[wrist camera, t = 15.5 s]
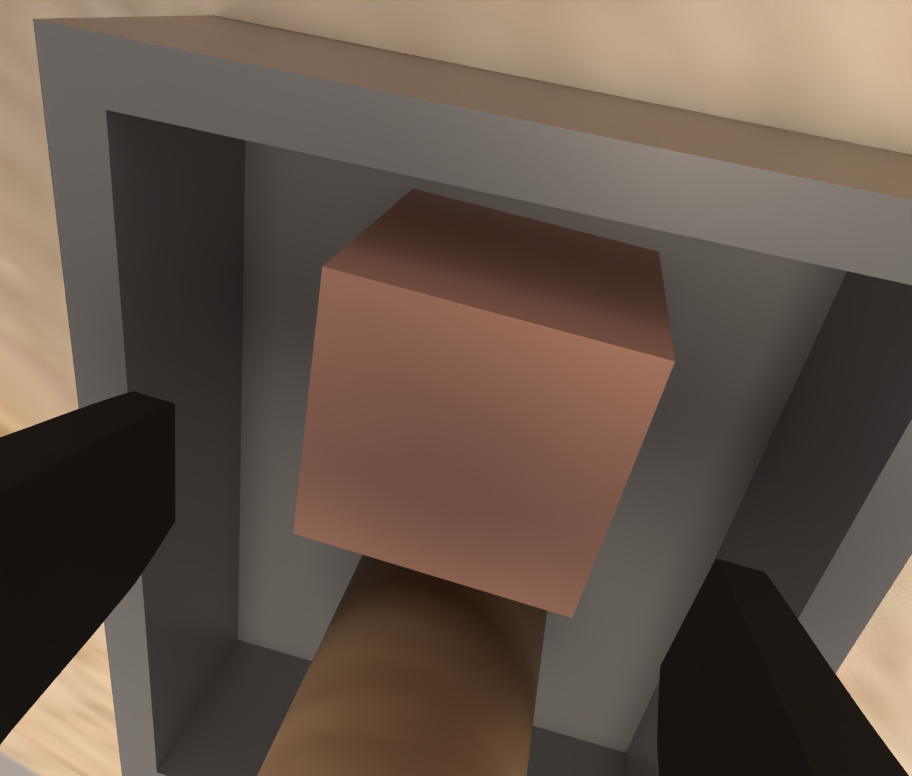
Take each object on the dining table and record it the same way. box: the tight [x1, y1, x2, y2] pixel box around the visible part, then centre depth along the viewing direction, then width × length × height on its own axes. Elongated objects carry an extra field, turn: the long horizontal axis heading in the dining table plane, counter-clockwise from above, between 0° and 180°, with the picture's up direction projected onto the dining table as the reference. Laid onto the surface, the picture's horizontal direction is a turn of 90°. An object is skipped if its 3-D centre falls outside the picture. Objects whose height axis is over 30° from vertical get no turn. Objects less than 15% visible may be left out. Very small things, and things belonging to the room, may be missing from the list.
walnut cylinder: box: [257, 555, 547, 776], centre depth 16 cm, size 5×5×7 cm
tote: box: [33, 16, 912, 776], centre depth 16 cm, size 14×18×5 cm
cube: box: [293, 188, 675, 618], centre depth 13 cm, size 5×5×5 cm
